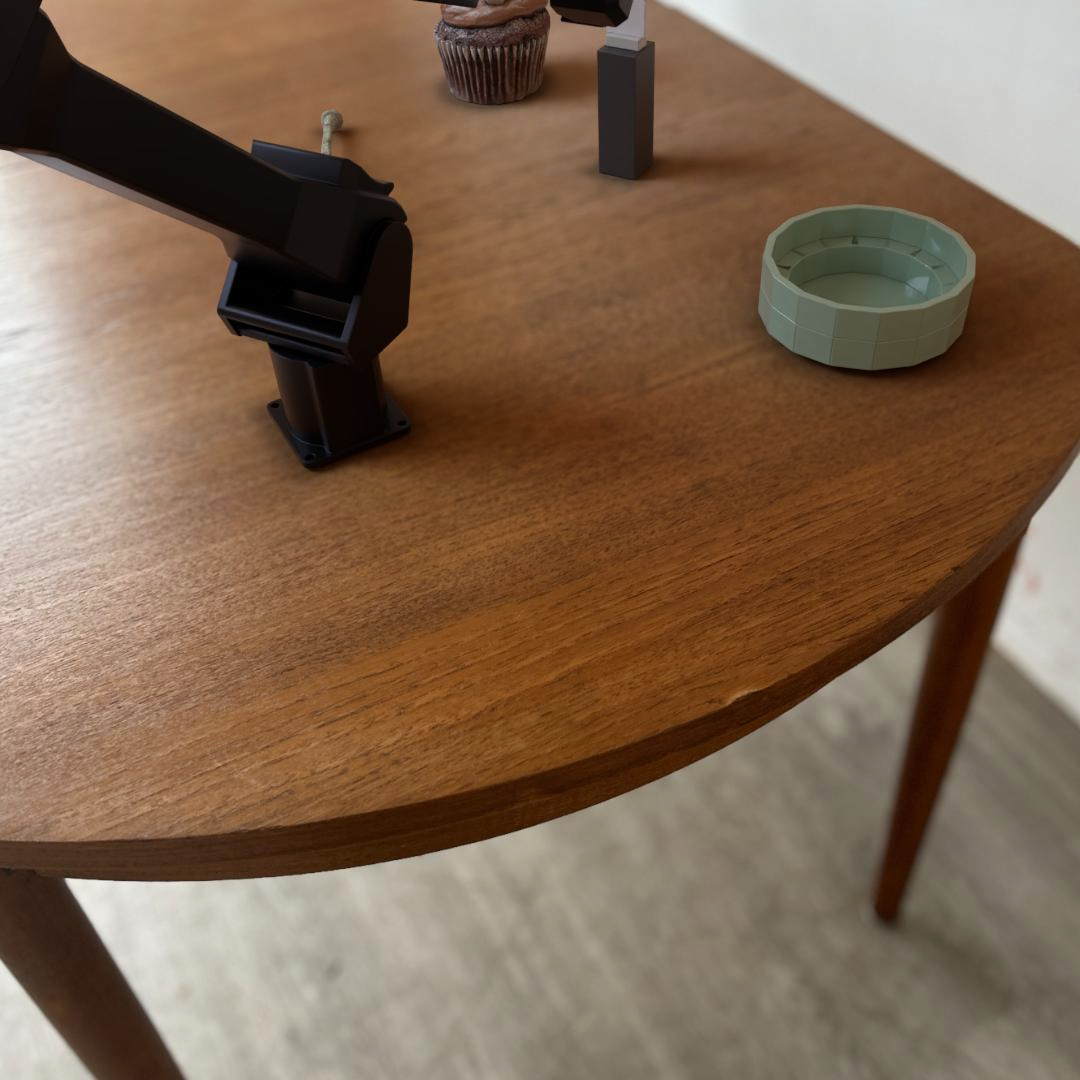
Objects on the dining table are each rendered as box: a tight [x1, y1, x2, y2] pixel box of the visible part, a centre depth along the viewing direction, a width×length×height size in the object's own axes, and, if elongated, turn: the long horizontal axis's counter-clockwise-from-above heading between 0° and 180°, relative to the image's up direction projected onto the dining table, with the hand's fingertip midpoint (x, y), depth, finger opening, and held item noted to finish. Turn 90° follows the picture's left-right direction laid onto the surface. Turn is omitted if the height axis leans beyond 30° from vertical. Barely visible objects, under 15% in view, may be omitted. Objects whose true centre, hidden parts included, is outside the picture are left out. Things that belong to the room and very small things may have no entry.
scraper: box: [596, 0, 656, 181], centre depth 84 cm, size 3×3×13 cm
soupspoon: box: [320, 109, 344, 155], centre depth 87 cm, size 22×3×7 cm
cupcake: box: [432, 0, 551, 105], centre depth 97 cm, size 10×10×10 cm
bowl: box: [757, 203, 977, 371], centre depth 71 cm, size 12×12×4 cm
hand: (540, 9), depth 75 cm, fingers open, 9 cm apart
